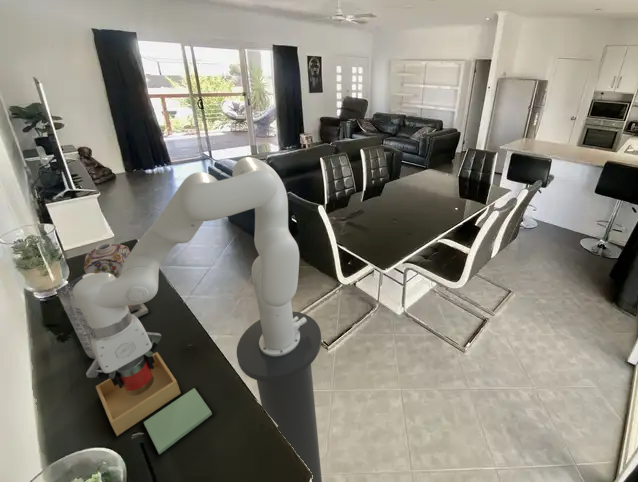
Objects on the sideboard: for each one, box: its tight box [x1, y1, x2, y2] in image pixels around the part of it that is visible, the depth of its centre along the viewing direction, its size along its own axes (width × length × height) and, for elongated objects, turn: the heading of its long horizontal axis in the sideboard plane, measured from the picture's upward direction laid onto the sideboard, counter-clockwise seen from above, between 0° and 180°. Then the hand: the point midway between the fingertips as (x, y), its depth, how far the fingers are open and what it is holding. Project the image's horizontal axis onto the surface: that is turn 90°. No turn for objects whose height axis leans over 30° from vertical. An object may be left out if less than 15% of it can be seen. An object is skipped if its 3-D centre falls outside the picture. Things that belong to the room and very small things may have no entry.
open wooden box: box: [95, 351, 181, 437], centre depth 84 cm, size 14×14×5 cm
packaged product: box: [128, 303, 149, 319], centre depth 109 cm, size 18×5×10 cm
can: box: [116, 354, 154, 396], centre depth 82 cm, size 6×6×9 cm
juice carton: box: [55, 273, 96, 360], centre depth 93 cm, size 9×10×27 cm
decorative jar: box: [83, 243, 131, 278], centre depth 123 cm, size 12×12×18 cm
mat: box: [143, 387, 213, 455], centre depth 80 cm, size 12×10×1 cm
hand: (135, 374), depth 83 cm, fingers closed on can, 6 cm apart
